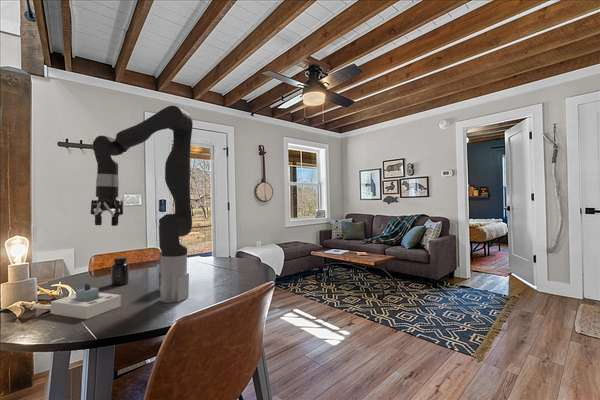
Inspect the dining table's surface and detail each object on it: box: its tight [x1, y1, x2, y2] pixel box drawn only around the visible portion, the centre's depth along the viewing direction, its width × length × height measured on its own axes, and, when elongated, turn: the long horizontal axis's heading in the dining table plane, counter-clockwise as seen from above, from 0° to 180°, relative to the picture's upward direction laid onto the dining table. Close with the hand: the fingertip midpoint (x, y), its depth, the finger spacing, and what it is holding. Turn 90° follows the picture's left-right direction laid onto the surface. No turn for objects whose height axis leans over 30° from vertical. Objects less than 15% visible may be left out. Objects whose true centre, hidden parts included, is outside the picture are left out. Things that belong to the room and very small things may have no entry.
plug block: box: [75, 282, 100, 302], centre depth 95 cm, size 4×4×9 cm
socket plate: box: [50, 292, 122, 320], centre depth 95 cm, size 16×12×4 cm
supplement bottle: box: [110, 256, 130, 287], centre depth 127 cm, size 7×7×12 cm
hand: (106, 225), depth 112 cm, fingers open, 8 cm apart
